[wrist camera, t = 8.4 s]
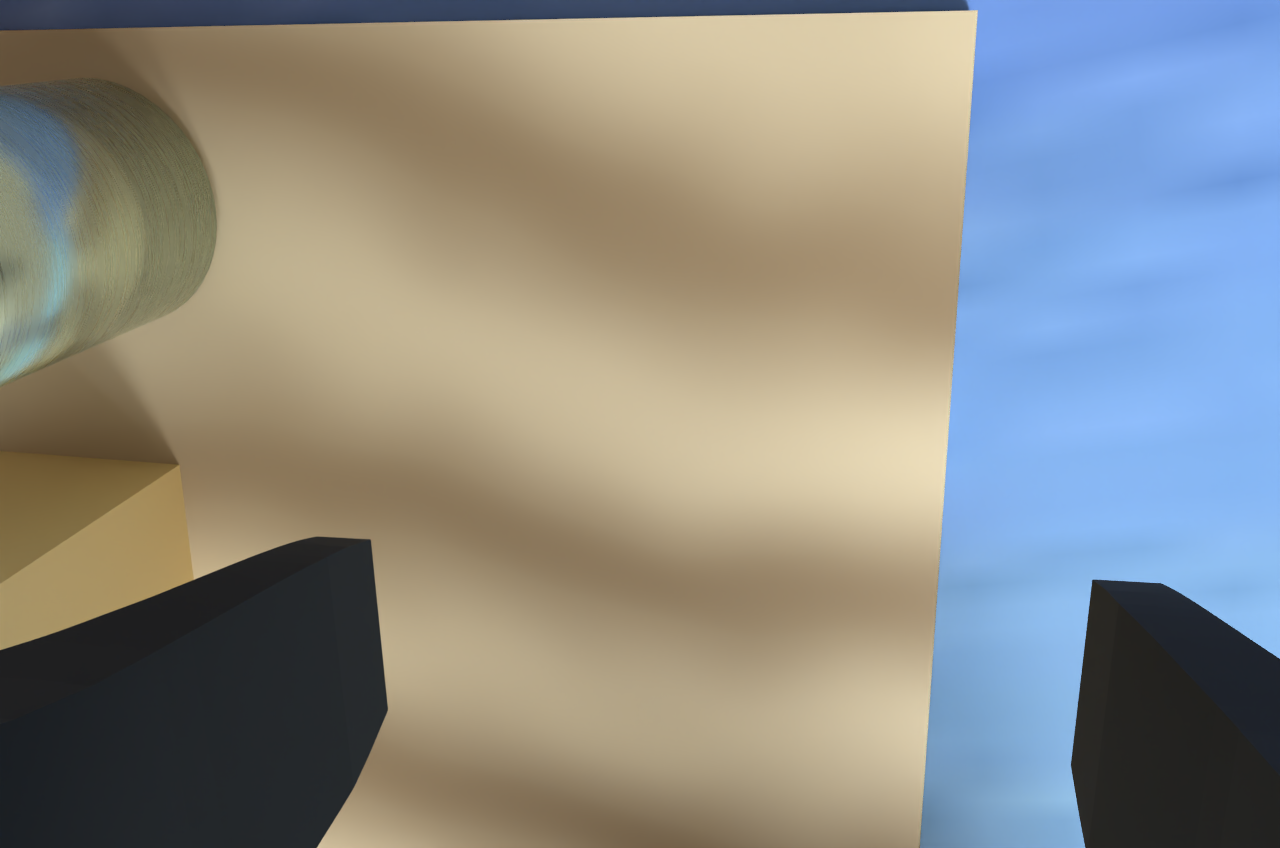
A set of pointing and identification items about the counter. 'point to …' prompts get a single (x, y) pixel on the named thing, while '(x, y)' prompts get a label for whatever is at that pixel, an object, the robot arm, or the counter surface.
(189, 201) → the spice tin
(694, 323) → the shelf board
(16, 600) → the carton
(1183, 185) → the counter surface
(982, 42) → the counter surface
